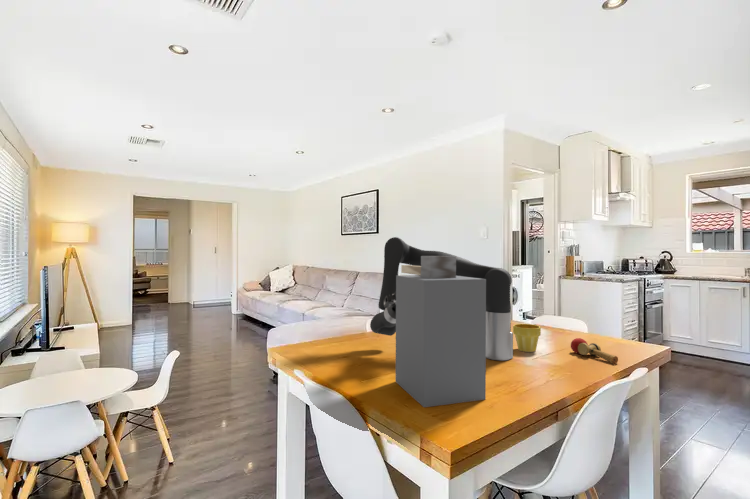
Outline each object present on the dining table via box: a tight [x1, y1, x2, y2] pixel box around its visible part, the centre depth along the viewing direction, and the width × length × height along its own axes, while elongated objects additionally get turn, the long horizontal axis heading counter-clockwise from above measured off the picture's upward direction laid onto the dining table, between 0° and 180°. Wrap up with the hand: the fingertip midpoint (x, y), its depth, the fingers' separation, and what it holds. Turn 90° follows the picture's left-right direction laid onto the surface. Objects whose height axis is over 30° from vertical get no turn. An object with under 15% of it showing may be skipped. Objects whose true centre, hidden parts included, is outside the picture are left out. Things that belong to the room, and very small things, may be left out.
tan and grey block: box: [400, 255, 457, 278], centre depth 120 cm, size 8×28×6 cm, turn 18°
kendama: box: [570, 337, 619, 365], centre depth 144 cm, size 8×6×18 cm
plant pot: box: [512, 323, 542, 353], centre depth 154 cm, size 10×10×10 cm
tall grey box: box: [395, 274, 487, 408], centre depth 109 cm, size 18×20×32 cm
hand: (412, 291), depth 127 cm, fingers open, 8 cm apart
